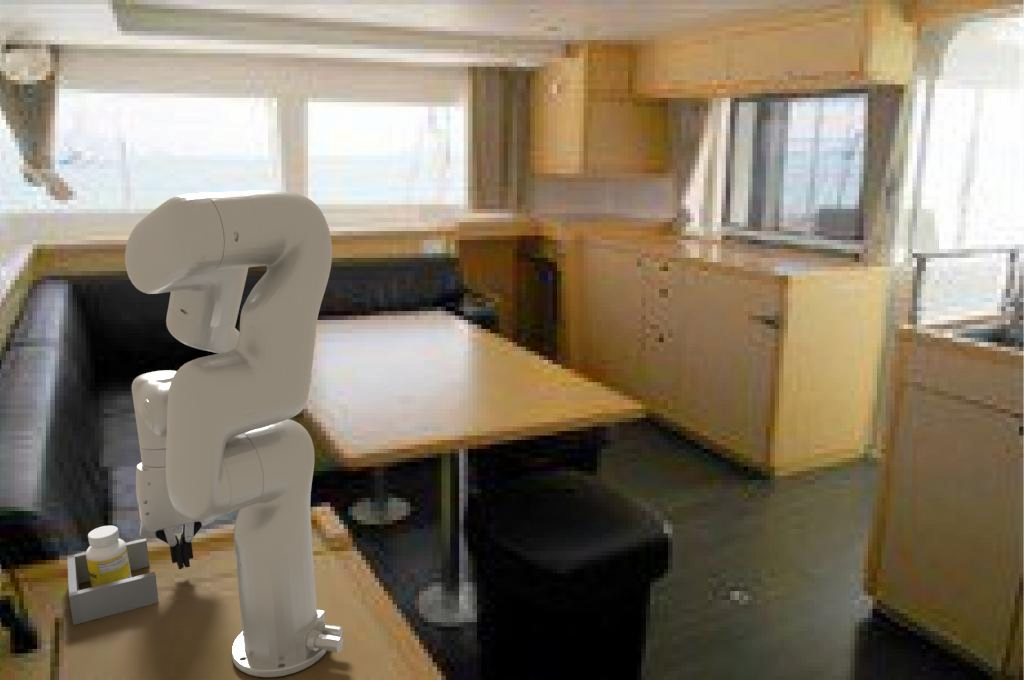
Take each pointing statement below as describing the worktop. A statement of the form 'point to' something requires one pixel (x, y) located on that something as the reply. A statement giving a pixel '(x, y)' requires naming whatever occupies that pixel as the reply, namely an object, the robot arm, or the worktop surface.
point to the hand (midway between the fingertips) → (183, 564)
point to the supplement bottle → (107, 556)
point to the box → (111, 587)
